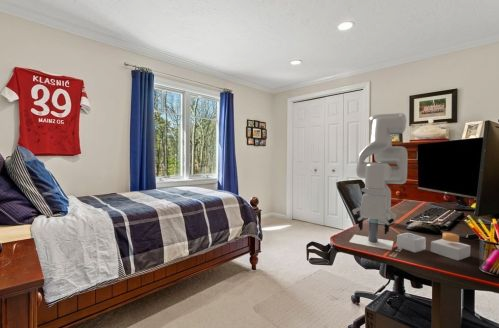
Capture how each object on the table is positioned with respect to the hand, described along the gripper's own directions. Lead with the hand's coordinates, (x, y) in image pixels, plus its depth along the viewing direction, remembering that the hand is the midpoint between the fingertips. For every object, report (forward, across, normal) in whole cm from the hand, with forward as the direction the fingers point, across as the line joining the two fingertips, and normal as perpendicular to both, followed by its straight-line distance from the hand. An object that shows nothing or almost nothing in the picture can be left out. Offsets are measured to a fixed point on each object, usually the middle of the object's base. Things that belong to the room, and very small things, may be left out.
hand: (373, 231), depth 110 cm
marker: (+4, 0, 0) cm, 4 cm away
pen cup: (+5, +14, 0) cm, 15 cm away
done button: (-1, +26, +2) cm, 27 cm away
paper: (+5, 0, 0) cm, 5 cm away
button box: (+5, +26, +2) cm, 27 cm away
